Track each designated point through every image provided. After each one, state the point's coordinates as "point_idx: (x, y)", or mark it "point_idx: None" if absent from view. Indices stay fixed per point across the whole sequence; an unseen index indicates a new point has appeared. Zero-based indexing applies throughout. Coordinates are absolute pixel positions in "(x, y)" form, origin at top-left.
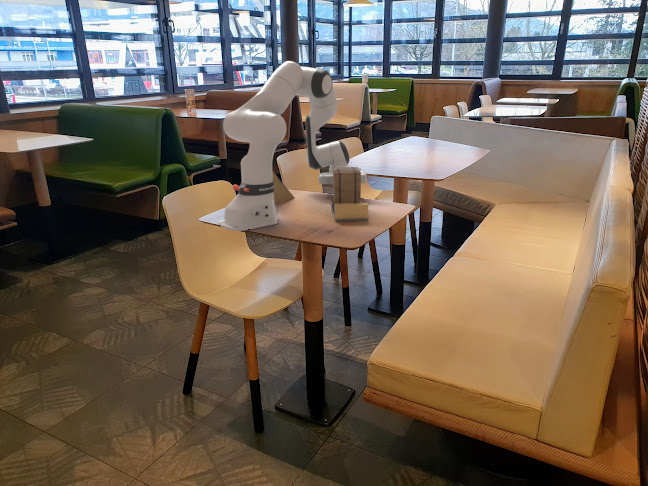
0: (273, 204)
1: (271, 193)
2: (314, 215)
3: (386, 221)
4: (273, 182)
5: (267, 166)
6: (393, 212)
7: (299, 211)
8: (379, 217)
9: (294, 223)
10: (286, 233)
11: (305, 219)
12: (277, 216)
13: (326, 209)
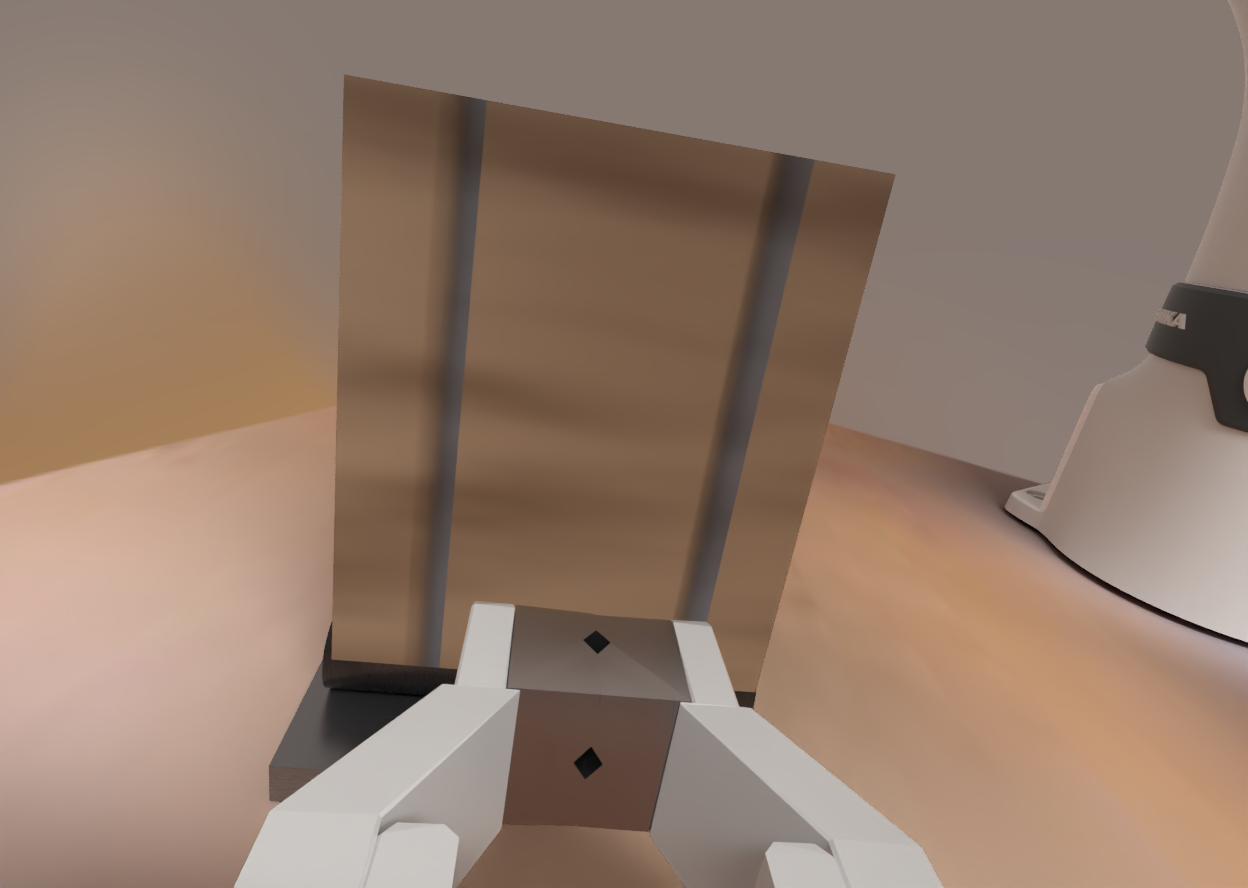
0: (1083, 412)
1: (1152, 361)
2: (846, 576)
3: (313, 426)
4: (1198, 291)
5: (1233, 149)
6: (71, 513)
7: (1054, 681)
8: (312, 468)
9: (908, 502)
10: (873, 440)
11: (875, 532)
12: (1067, 527)
13: (789, 693)
